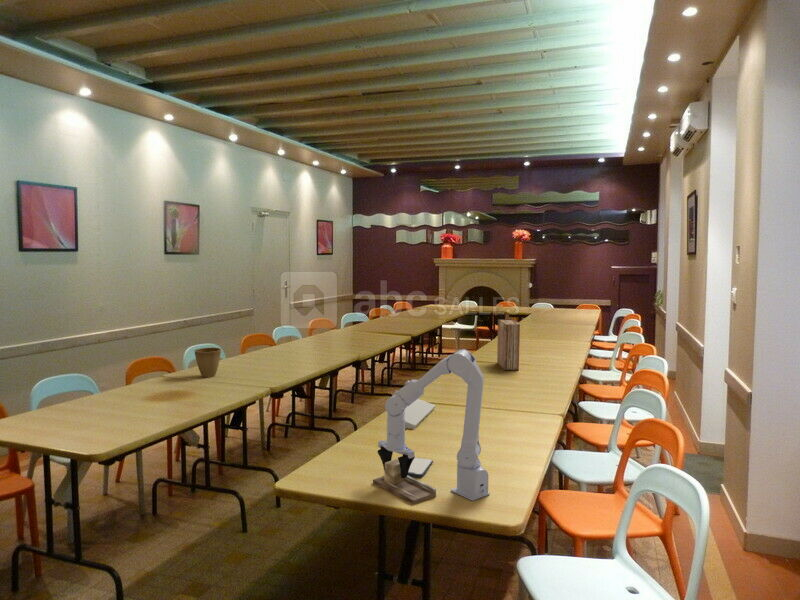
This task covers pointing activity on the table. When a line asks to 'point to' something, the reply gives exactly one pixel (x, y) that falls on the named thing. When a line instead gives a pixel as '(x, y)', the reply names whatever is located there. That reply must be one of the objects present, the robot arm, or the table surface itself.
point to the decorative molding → (417, 412)
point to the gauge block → (393, 472)
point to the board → (408, 489)
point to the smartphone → (419, 467)
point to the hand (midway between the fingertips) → (395, 474)
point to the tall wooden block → (508, 344)
